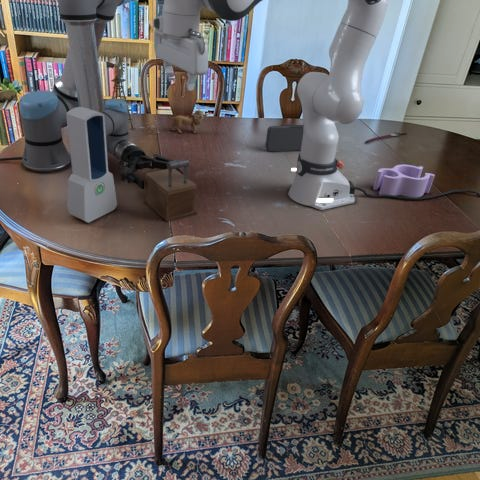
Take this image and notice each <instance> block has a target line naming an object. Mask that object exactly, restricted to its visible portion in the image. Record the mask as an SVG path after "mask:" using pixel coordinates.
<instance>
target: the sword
mask: <svg viewBox="0 0 480 480" xmlns="http://www.w3.org/2000/svg"><path fill="white" fill-rule="evenodd" d="M404 134H406V133H402V134H400V132H393V133H390V134H387V135H381V136H378V137H374V138H370V139H368V140H366V141H365V144H368V143H370V142H374V141H378V140H381V139H386V138H390V137H394V136H395V137H398V136H399V135H404Z"/></svg>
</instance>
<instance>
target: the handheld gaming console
mask: <svg viewBox="0 0 480 480" xmlns="http://www.w3.org/2000/svg"><path fill="white" fill-rule="evenodd" d="M302 139H303V124H292V125H291V124H290V125H289V124H286V125H285V124H284V125H283V124H281V125H270V126H268V127H267V130H266V139H265V145H264V146H265V150H267V151H268V152H289V151H290V152H292V151H294V152H295V151H301V145H302Z"/></svg>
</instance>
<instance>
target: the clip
mask: <svg viewBox="0 0 480 480" xmlns="http://www.w3.org/2000/svg"><path fill="white" fill-rule="evenodd" d="M423 169H424V166H422V165H419V166H416V165H411V164H396V165H395V166H394V167H391V168H388V167H387V168H385V167H381V168H379V169H378V170H377V174H376V177H375V181H374V184H373V188H372V189H373V191H378V189H379V192H378V195H393V196H401V197H412V198H416V197H424V194H429V193H430V190H431V188H432V185H433V182H434V179H435V175H436V174H434V173H429V172H424V176H422V177H421V175H422V173H423Z"/></svg>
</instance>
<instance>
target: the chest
mask: <svg viewBox="0 0 480 480" xmlns="http://www.w3.org/2000/svg"><path fill="white" fill-rule="evenodd" d="M145 203H146V204H147V205H148V206H149V207H151V209H152V210H153V211H155V212H156V213H157V214H158V216H160V217H161V218H163V219H164V221H166V222H169V221H171V220H176V219H179V218H183V217H186V216H190V215H194V214H195V208H196V207H195V205H196V189H192V190H188V191H183V192H179V193H175V194H171V195H167V194H165V193H164V192H163V191H162V190H161V189H159V188H158V187H157V186H156V185H155V184H153V183H152V182H151V181H150V180H149V179H148V178H146V177H145Z"/></svg>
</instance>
